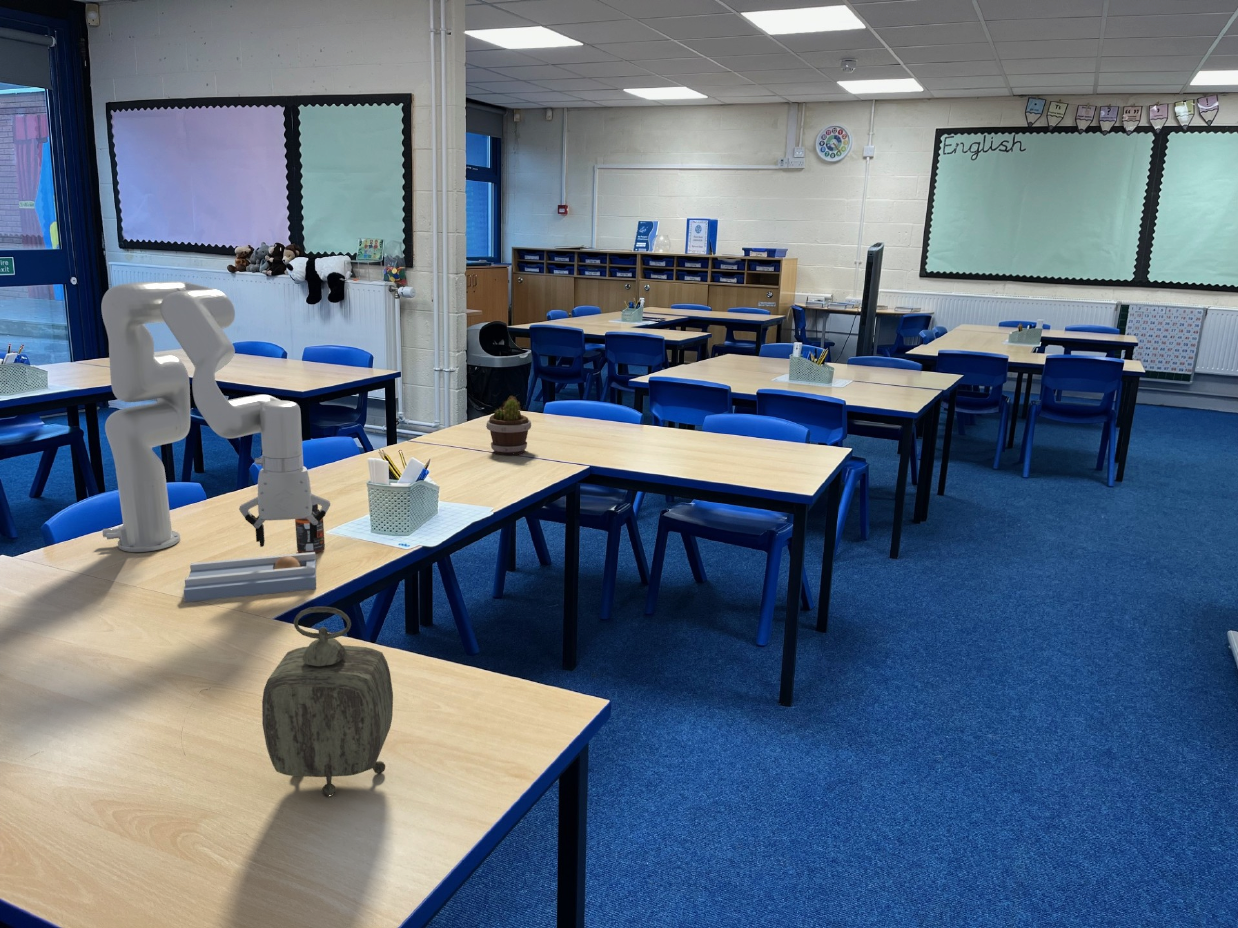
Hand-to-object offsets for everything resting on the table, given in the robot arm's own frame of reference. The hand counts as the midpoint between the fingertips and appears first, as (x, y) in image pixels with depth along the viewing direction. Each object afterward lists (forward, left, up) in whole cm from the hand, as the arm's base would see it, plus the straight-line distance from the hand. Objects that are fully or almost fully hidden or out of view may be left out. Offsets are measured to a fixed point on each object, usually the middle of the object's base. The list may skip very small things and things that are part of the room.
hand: (287, 542), depth 180 cm
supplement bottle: (+4, +15, -8) cm, 18 cm away
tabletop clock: (+7, -77, -8) cm, 77 cm away
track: (-7, -1, -8) cm, 10 cm away
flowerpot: (+66, +96, -8) cm, 117 cm away
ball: (0, -1, -5) cm, 5 cm away
